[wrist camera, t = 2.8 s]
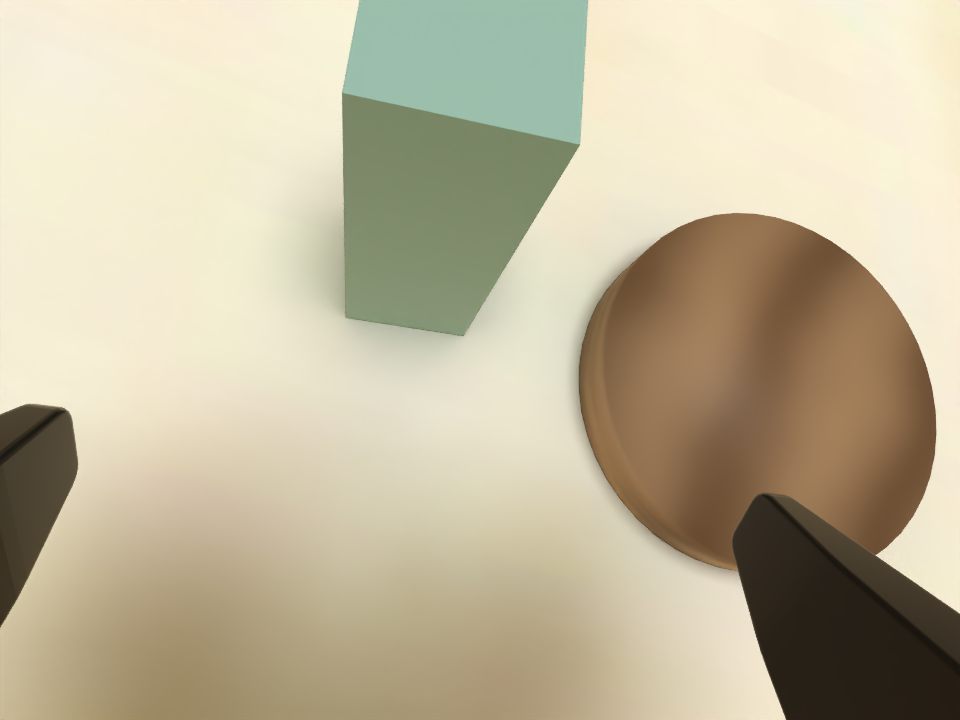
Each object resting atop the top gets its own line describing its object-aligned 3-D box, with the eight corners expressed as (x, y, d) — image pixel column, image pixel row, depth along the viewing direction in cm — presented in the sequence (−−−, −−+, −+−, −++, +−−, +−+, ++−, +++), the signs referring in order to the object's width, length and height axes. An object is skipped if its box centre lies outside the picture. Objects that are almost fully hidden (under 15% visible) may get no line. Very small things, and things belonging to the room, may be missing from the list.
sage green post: (474, 231, 25) (590, -37, 13) (463, 335, 23) (580, 144, 12) (363, 210, 24) (377, -95, 12) (345, 317, 23) (342, 92, 11)
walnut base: (917, 346, 28) (970, 330, 25) (827, 641, 23) (881, 654, 21) (661, 183, 27) (691, 151, 25) (517, 453, 23) (537, 445, 20)
